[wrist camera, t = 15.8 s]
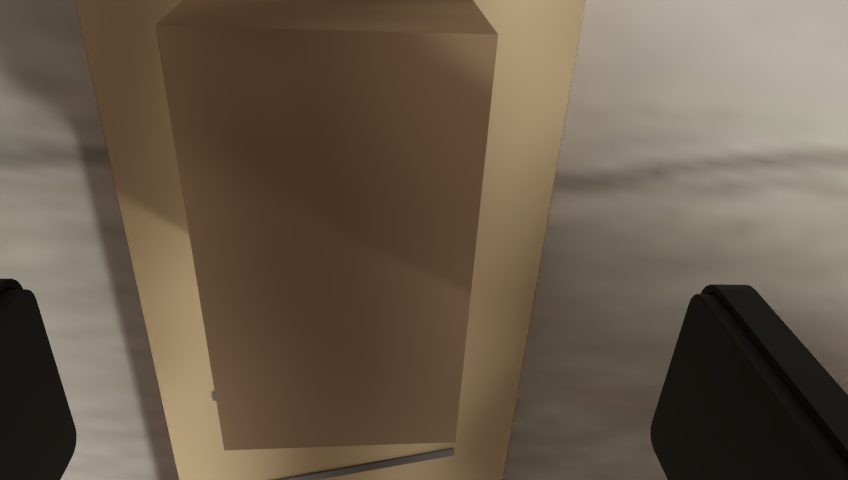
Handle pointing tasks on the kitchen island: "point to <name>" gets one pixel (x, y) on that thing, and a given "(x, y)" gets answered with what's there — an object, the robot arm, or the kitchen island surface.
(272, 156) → the block
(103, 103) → the board
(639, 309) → the kitchen island surface
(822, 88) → the kitchen island surface
